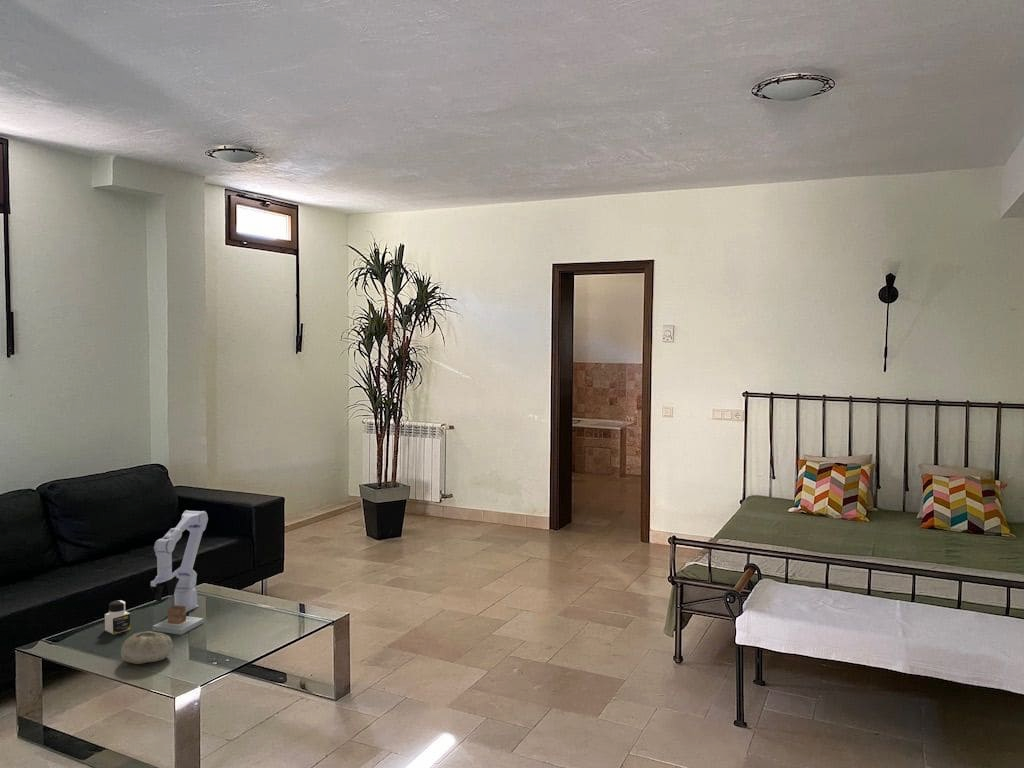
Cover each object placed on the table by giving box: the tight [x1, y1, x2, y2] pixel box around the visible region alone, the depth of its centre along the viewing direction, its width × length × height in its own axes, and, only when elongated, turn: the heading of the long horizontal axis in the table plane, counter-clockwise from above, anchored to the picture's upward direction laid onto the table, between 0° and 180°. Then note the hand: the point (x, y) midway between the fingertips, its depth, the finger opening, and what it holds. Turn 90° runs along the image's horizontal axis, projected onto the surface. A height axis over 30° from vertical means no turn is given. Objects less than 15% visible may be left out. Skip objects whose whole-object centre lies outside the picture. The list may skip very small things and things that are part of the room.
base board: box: [152, 615, 205, 636], centre depth 332 cm, size 14×14×2 cm
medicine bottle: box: [104, 599, 131, 635], centre depth 327 cm, size 7×7×12 cm
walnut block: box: [167, 604, 187, 624], centre depth 332 cm, size 5×5×6 cm
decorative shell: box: [120, 630, 174, 665], centre depth 297 cm, size 18×18×10 cm
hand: (164, 598), depth 338 cm, fingers open, 7 cm apart
